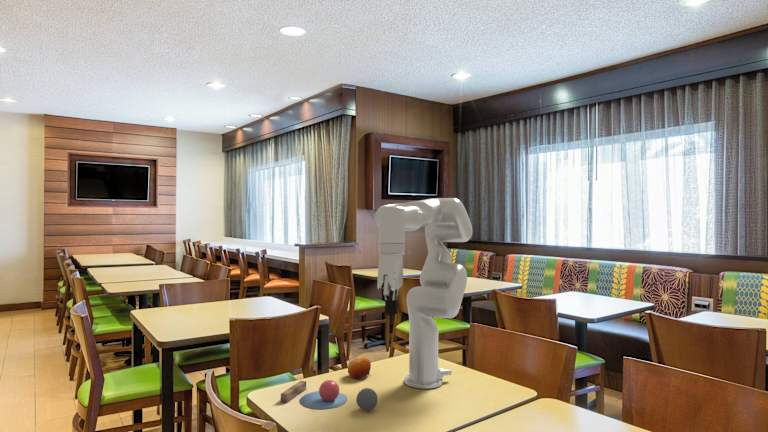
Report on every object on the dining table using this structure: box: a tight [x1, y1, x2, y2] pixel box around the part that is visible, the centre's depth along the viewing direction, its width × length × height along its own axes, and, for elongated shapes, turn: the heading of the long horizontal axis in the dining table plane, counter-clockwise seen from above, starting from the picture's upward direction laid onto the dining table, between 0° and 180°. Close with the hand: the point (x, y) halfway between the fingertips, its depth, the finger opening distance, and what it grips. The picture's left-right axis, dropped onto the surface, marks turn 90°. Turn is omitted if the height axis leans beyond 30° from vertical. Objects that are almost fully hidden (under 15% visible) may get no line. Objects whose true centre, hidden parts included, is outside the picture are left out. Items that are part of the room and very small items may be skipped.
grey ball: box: [356, 387, 378, 412], centre depth 138 cm, size 6×6×6 cm
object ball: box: [318, 379, 340, 402], centre depth 144 cm, size 6×6×6 cm
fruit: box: [347, 355, 372, 380], centre depth 166 cm, size 8×8×8 cm
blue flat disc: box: [299, 390, 348, 410], centre depth 145 cm, size 14×14×1 cm
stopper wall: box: [280, 380, 307, 404], centre depth 148 cm, size 12×2×2 cm, turn 161°
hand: (391, 313), depth 138 cm, fingers closed
